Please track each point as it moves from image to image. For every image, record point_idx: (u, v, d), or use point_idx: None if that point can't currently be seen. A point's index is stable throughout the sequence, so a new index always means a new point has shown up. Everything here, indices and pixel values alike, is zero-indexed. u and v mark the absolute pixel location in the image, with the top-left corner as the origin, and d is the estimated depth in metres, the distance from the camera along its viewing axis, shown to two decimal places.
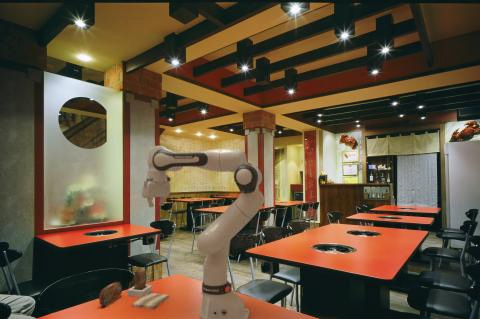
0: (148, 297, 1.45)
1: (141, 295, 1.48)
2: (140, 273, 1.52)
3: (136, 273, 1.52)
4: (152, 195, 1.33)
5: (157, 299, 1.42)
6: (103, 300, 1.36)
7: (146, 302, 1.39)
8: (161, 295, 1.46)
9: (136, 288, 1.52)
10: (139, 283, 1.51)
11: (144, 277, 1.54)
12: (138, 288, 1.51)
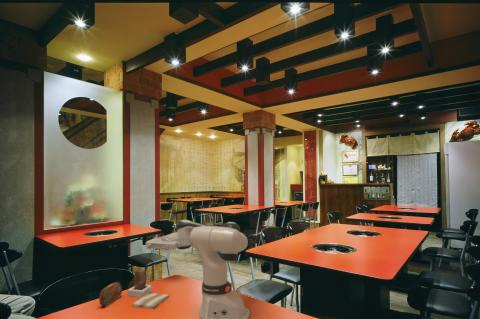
0: (148, 297, 1.45)
1: (141, 295, 1.48)
2: (140, 273, 1.52)
3: (136, 273, 1.52)
4: None
5: (157, 299, 1.42)
6: (103, 300, 1.36)
7: (146, 302, 1.39)
8: (161, 295, 1.46)
9: (136, 288, 1.52)
10: (139, 283, 1.51)
11: (144, 277, 1.54)
12: (138, 288, 1.51)
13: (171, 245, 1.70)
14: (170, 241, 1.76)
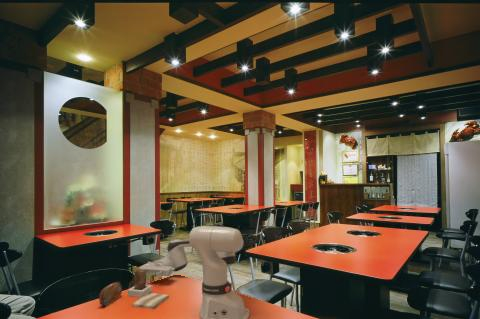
0: (148, 297, 1.45)
1: (141, 295, 1.48)
2: (140, 273, 1.52)
3: (136, 273, 1.52)
4: None
5: (157, 299, 1.42)
6: (103, 300, 1.36)
7: (146, 302, 1.39)
8: (161, 295, 1.46)
9: (136, 288, 1.52)
10: (139, 283, 1.51)
11: (144, 277, 1.54)
12: (138, 288, 1.51)
13: (165, 271, 1.64)
14: (164, 266, 1.71)
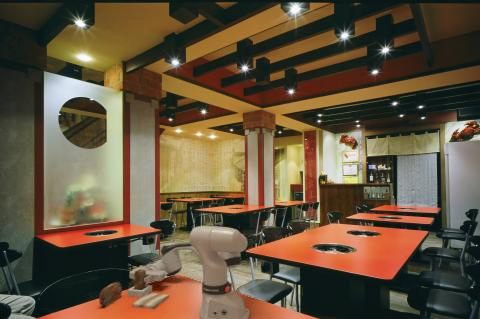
0: (148, 297, 1.45)
1: (141, 295, 1.48)
2: (140, 273, 1.52)
3: (136, 273, 1.52)
4: None
5: (157, 299, 1.42)
6: (103, 300, 1.36)
7: (146, 302, 1.39)
8: (161, 295, 1.46)
9: (136, 288, 1.52)
10: (139, 283, 1.51)
11: None
12: (138, 288, 1.51)
13: (157, 276, 1.55)
14: (156, 271, 1.62)
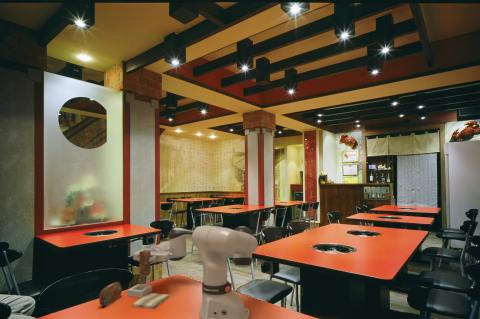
0: (148, 297, 1.45)
1: (141, 295, 1.48)
2: (145, 253, 1.47)
3: (141, 253, 1.47)
4: None
5: (157, 299, 1.42)
6: (103, 300, 1.36)
7: (146, 302, 1.39)
8: (161, 295, 1.46)
9: (141, 269, 1.47)
10: (144, 263, 1.47)
11: None
12: (143, 269, 1.47)
13: (162, 256, 1.51)
14: (161, 252, 1.57)
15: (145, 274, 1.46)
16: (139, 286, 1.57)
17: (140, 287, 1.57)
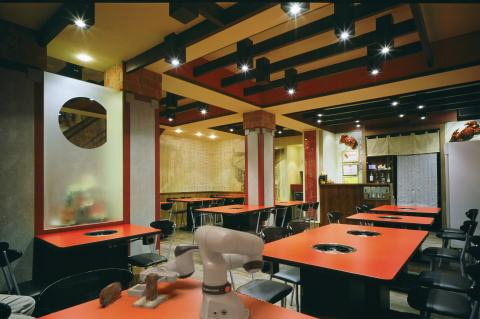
0: None
1: (141, 295, 1.48)
2: (152, 277, 1.41)
3: (148, 277, 1.42)
4: None
5: (157, 299, 1.42)
6: (103, 300, 1.36)
7: (146, 302, 1.39)
8: (161, 295, 1.46)
9: (147, 293, 1.41)
10: (151, 288, 1.41)
11: (156, 282, 1.43)
12: (150, 293, 1.41)
13: (170, 278, 1.45)
14: (168, 272, 1.51)
15: (151, 299, 1.40)
16: (139, 286, 1.57)
17: (140, 287, 1.57)
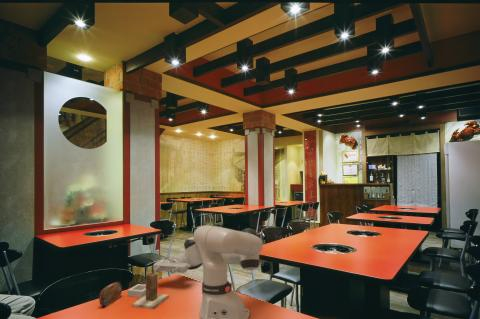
0: None
1: (141, 295, 1.48)
2: (152, 277, 1.41)
3: (147, 277, 1.42)
4: None
5: (157, 299, 1.42)
6: (103, 300, 1.36)
7: (146, 302, 1.39)
8: (161, 295, 1.46)
9: (147, 293, 1.41)
10: (151, 288, 1.41)
11: (156, 282, 1.43)
12: (149, 293, 1.41)
13: (181, 268, 1.58)
14: (179, 263, 1.64)
15: (151, 299, 1.40)
16: (139, 286, 1.57)
17: (140, 287, 1.57)
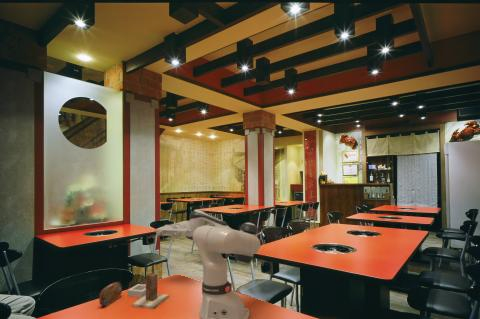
0: None
1: (141, 295, 1.48)
2: (152, 277, 1.41)
3: (147, 277, 1.42)
4: (181, 236, 1.66)
5: (157, 299, 1.42)
6: (103, 300, 1.36)
7: (146, 302, 1.39)
8: (161, 295, 1.46)
9: (147, 293, 1.41)
10: (151, 288, 1.41)
11: (156, 282, 1.43)
12: (149, 293, 1.41)
13: (183, 232, 1.65)
14: (181, 228, 1.71)
15: (151, 299, 1.40)
16: (139, 286, 1.57)
17: (140, 287, 1.57)
